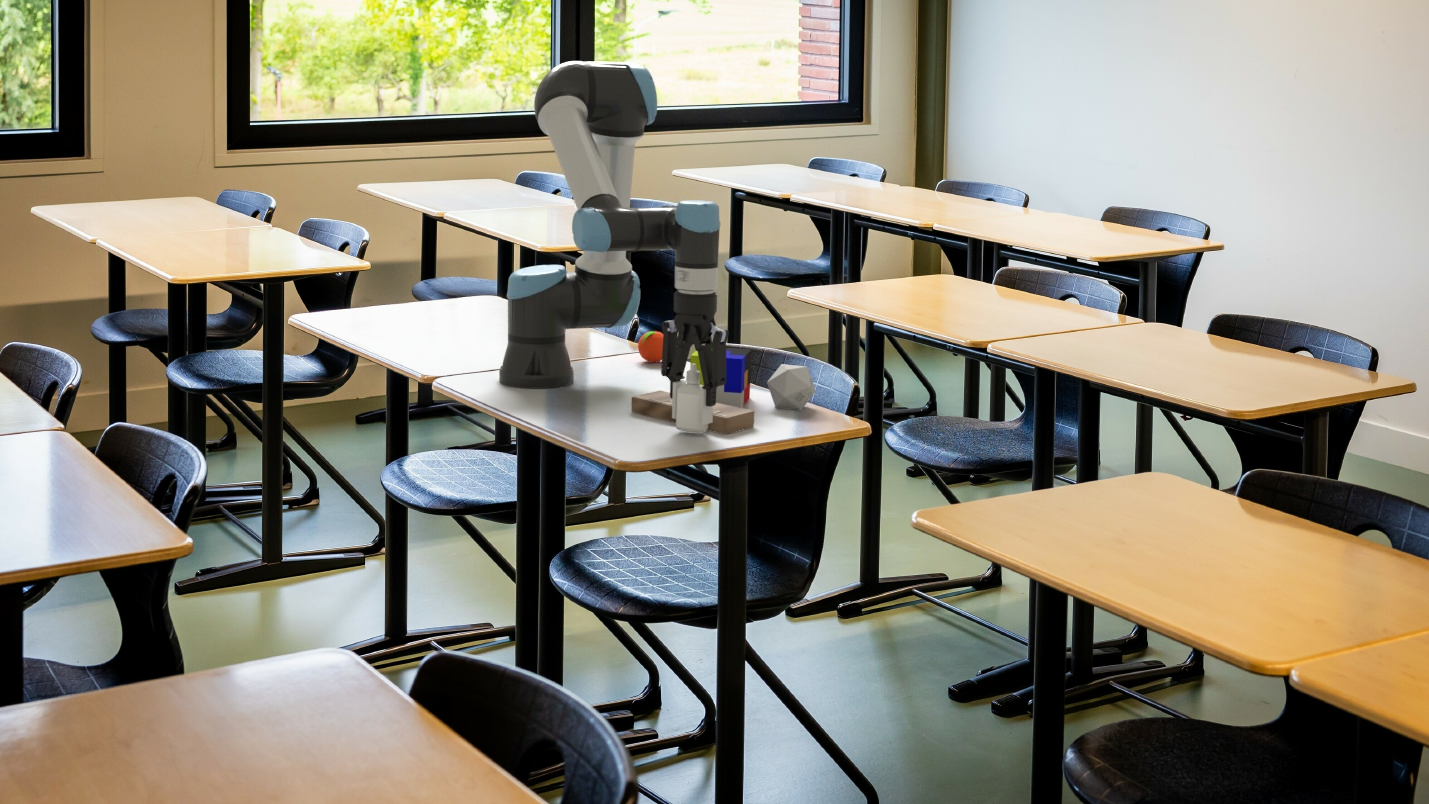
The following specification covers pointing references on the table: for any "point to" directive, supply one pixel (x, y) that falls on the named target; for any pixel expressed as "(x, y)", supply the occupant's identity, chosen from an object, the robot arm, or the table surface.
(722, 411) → the walnut block
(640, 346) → the clementine
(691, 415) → the eye dropper bottle
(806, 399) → the die
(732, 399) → the puzzle toy
